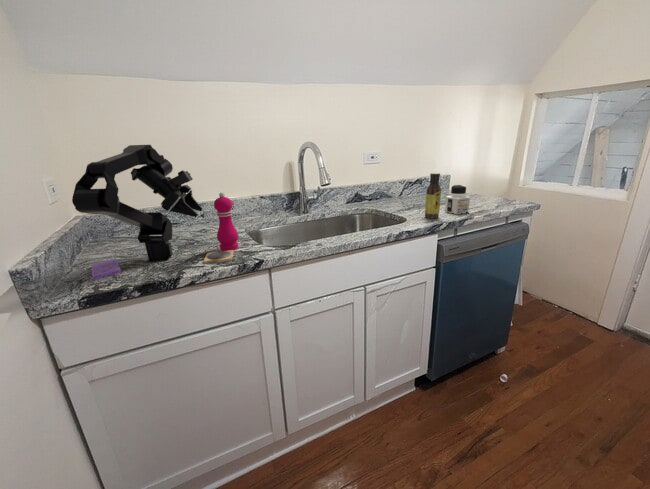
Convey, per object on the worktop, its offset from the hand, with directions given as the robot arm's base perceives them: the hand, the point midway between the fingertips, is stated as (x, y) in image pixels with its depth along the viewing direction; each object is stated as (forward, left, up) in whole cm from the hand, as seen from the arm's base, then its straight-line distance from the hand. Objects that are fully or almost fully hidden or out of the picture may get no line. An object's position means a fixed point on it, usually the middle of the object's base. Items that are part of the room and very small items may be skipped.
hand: (199, 213), depth 104 cm
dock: (+6, -9, -14) cm, 17 cm away
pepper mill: (+8, 0, -14) cm, 16 cm away
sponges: (-28, -10, -14) cm, 33 cm away
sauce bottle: (+97, +17, -14) cm, 100 cm away
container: (+113, +22, -14) cm, 116 cm away
